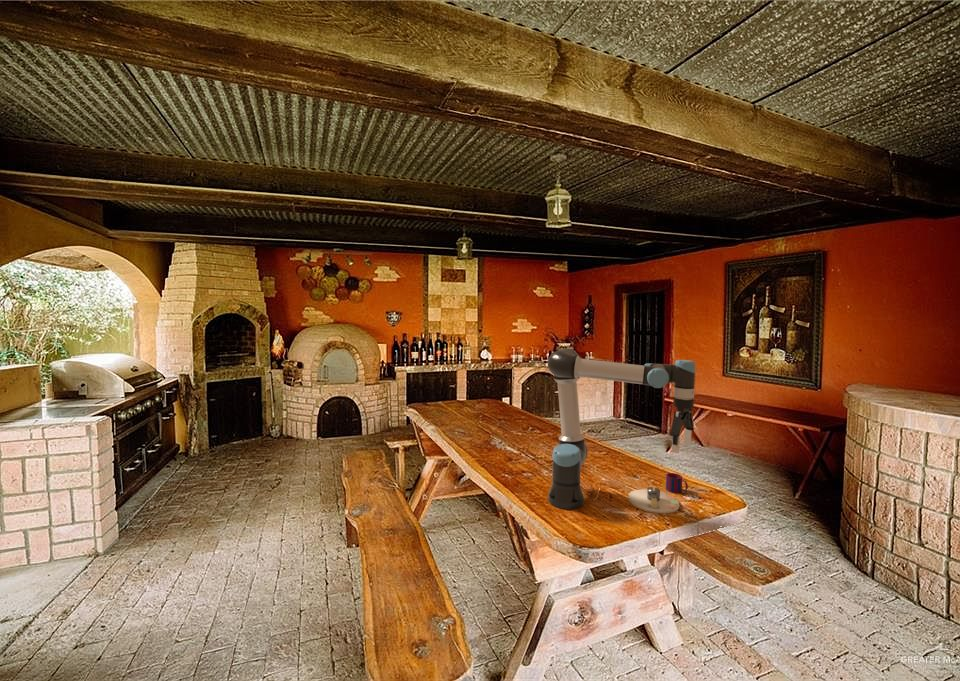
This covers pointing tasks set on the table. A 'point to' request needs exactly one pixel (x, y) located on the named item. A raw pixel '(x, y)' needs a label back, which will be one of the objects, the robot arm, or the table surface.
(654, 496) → the needle
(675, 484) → the mug
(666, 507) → the dial plate
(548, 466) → the table surface
